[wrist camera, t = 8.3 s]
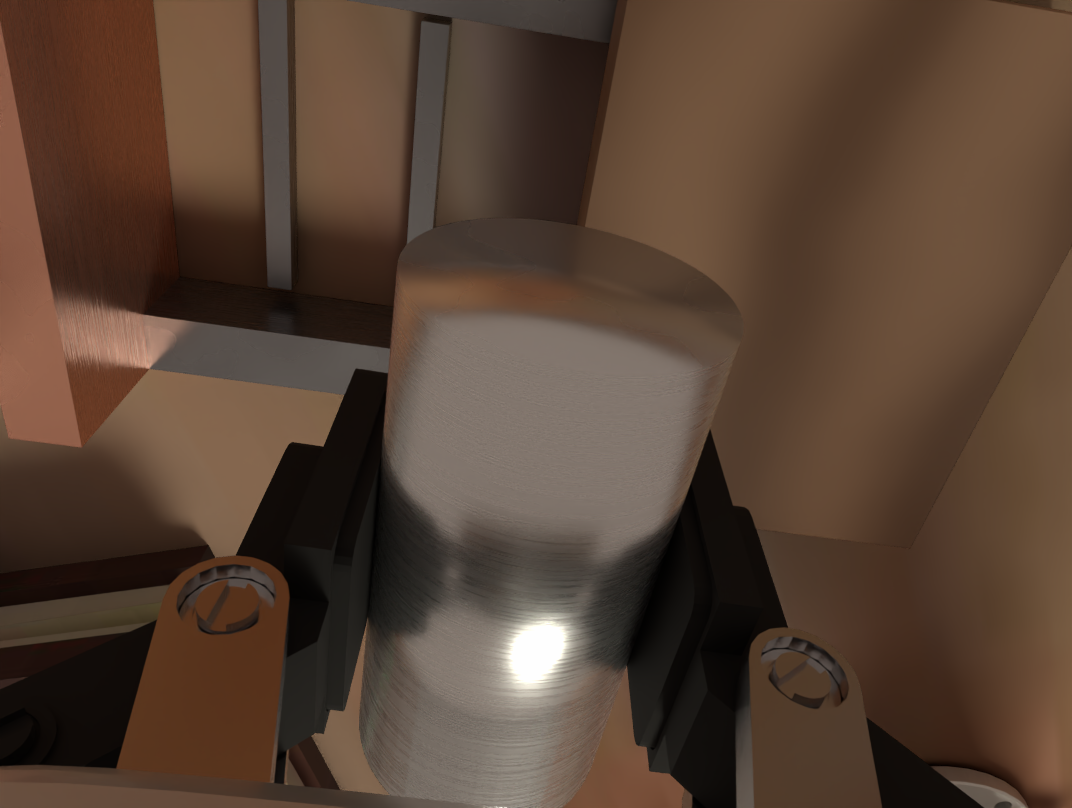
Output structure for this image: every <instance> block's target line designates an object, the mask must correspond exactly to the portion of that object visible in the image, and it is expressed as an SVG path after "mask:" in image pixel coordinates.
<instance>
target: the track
mask: <svg viewBox="0 0 1072 808" xmlns="http://www.w3.org/2000/svg"><path fill="white" fill-rule="evenodd" d="M348 1H355V2H361V3H367V4H373V5H379V6H385V7H391V8H397V9H403V10H409V11H415V12H421V13H427V14H433V15H440V16H446V17H452V18H458V19H464V20H470V21H476V22H482V23H488V24H494V25H500V26H506V27H512V28H518V29H525V30H531V31H537V32H543V33H549V34H555V35H561V36H567V37H573V38H579V39H585V40H591V41H597V42H603V43H610V39H611V34H612V28H613V23H614V17H615V12H616V6H617V1H618V0H348ZM258 14H259V43H260V72H261V102H262V131H263V161H264V190H265V219H266V249H267V278H268V287H273V288H280V289H287V290H292V289H293V287H294V286H295V284H296V283H297V281H298V254H297V172H296V90H295V8H294V0H258ZM451 32H452V22H450V21H444V20H438V19H432V18H426V17H425V18H424V19H423V20H422V21H421V35H420V50H419V66H418V81H417V96H416V112H415V127H414V143H413V158H412V173H411V189H410V204H409V220H408V235H407V244H408V243H409V242H410V241H412V240H413V239H414V238H415V237H417V236H419V235H421V234H422V233H424V232H426V231H429V230H431V229H434V228H435V223H436V211H437V200H438V188H439V176H440V164H441V152H442V140H443V128H444V116H445V104H446V92H447V80H448V68H449V56H450V44H451ZM393 309H394V307H389V306H382V305H375V304H368V303H361V302H354V301H347V300H339V299H332V298H325V297H318V296H311V295H304V294H297V293H290V292H283V291H276V290H269V289H261V288H254V287H247V286H240V285H233V284H226V283H219V282H212V281H205V280H198V279H191V278H183V277H180V275H179V264H178V254H177V244H176V233H175V223H174V213H173V203H172V192H171V182H170V172H169V161H168V151H167V141H166V131H165V120H164V110H163V100H162V89H161V79H160V69H159V59H158V48H157V38H156V28H155V18H154V7H153V0H0V404H1V408H2V412H3V416H4V420H5V424H6V428H7V432H8V436H9V438H11V439H19V440H27V441H34V442H42V443H50V444H58V445H66V446H74V447H83V445H84V444H85V443H86V442H87V441H88V440H89V438H90V437H91V436H92V435H93V434H94V433H95V432H96V430H97V429H98V428H99V427H100V426H101V425H102V423H103V422H104V421H105V420H106V419H107V418H108V416H109V415H110V414H111V413H112V412H113V411H114V409H115V408H116V407H117V406H118V405H119V404H120V402H121V401H122V400H123V399H124V398H125V397H126V395H127V394H128V393H129V392H130V391H131V390H132V388H133V387H134V386H135V385H136V384H137V383H138V381H139V380H140V379H141V378H142V377H143V376H144V374H145V373H146V372H147V371H148V370H149V369H155V370H163V371H170V372H178V373H185V374H193V375H200V376H208V377H215V378H223V379H230V380H238V381H245V382H253V383H260V384H268V385H275V386H283V387H290V388H298V389H305V390H313V391H320V392H328V393H335V394H343V395H345V393H346V390H347V388H348V385H349V383H350V380H351V378H352V375H353V373H354V371H355V369H357V368H358V369H365V370H371V371H378V372H384V373H388V368H389V356H390V345H391V333H392V321H393Z"/></svg>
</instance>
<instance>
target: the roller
mask: <svg viewBox="0 0 1072 808" xmlns="http://www.w3.org/2000/svg"><path fill="white" fill-rule="evenodd" d="M743 328H744V323H743V319H742V316H741V313H740V311H739V309H738V307H737V305H736V304H735V302H734V301H733V300H732V299H731V297H730V296H729V295H728V294H727V293H726V292H725V291H724V290H723V289H722V288H721V287H720V286H719V285H718V284H717V283H715V282H714V281H713V280H711V279H710V278H709V277H708V276H706V275H705V274H703V273H702V272H700V271H699V270H697V269H696V268H694V267H692V266H690V265H689V264H687V263H685V262H683V261H681V260H680V259H678V258H676V257H673V256H671V255H669V254H667V253H665V252H663V251H661V250H658V249H656V248H653V247H651V246H648V245H646V244H643V243H640V242H637V241H634V240H632V239H629V238H625V237H622V236H619V235H615V234H612V233H608V232H604V231H600V230H597V229H593V228H588V227H583V226H578V225H573V224H567V223H560V222H554V221H545V220H536V219H521V218H489V219H476V220H466V221H461V222H455V223H450V224H447V225H443V226H439V227H436V228H434V229H431V230H429V231H426V232H424V233H422V234H421V235H419V236H417V237H415V238H414V239H413V240H412V241H410V242H409V243H408V244H407V245H406V246H405V247H404V249H403V250H402V252H401V253H400V256H399V259H398V262H397V273H396V285H395V297H394V309H393V321H392V333H391V345H390V356H389V368H388V380H387V392H386V404H385V416H384V428H383V440H382V455H381V467H380V479H379V491H378V503H377V515H376V527H375V539H374V551H373V563H372V575H371V587H370V599H369V611H368V619H367V630H366V642H365V654H364V666H363V678H362V690H361V702H360V715H359V730H360V738H361V743H362V747H363V750H364V754H365V757H366V759H367V761H368V763H369V766H370V768H371V770H372V771H373V773H374V775H375V776H376V778H377V779H378V781H379V783H380V784H381V785H382V786H383V787H384V788H385V790H386V791H387V792H388V793H389V794H390V795H391V796H401V797H410V798H420V799H429V800H439V801H448V802H457V803H466V804H475V805H484V806H493V807H503V808H562V807H563V806H564V805H565V804H567V803H568V802H569V801H570V800H571V799H572V798H573V797H574V795H575V794H576V793H577V791H578V790H579V789H580V787H581V786H582V784H583V783H584V781H585V779H586V777H587V775H588V774H589V771H590V768H591V766H592V763H593V760H594V757H595V754H596V752H597V749H598V746H599V743H600V740H601V737H602V734H603V732H604V729H605V726H606V723H607V720H608V717H609V714H610V712H611V709H612V706H613V703H614V700H615V697H616V695H617V692H618V689H619V686H620V683H621V680H622V677H623V675H624V672H625V669H626V666H627V663H628V660H629V657H630V655H631V652H632V649H633V646H634V643H635V640H636V637H637V635H638V632H639V629H640V626H641V623H642V620H643V618H644V615H645V612H646V609H647V606H648V603H649V600H650V598H651V595H652V592H653V589H654V586H655V583H656V581H657V578H658V575H659V572H660V569H661V566H662V563H663V561H664V558H665V555H666V552H667V549H668V546H669V543H670V541H671V538H672V535H673V532H674V529H675V526H676V524H677V521H678V518H679V515H680V512H681V509H682V507H683V504H684V501H685V498H686V495H687V492H688V489H689V487H690V484H691V481H692V478H693V475H694V472H695V470H696V467H697V464H698V461H699V458H700V455H701V452H702V450H703V447H704V444H705V441H706V438H707V435H708V433H709V430H710V427H711V424H712V421H713V418H714V415H715V413H716V410H717V407H718V404H719V401H720V398H721V396H722V393H723V390H724V387H725V384H726V381H727V378H728V376H729V373H730V370H731V367H732V364H733V361H734V358H735V356H736V353H737V350H738V347H739V344H740V341H741V339H742V336H743Z"/></svg>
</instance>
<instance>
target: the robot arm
mask: <svg viewBox="0 0 1072 808" xmlns="http://www.w3.org/2000/svg"><path fill="white" fill-rule="evenodd" d="M387 380H388V373H384V372H378V371H371V370H365V369H358V368H357V369H355V371H354V373H353V375H352V378H351V380H350V383H349V385H348V388H347V390H346V393H345V395H344V398H343V400H342V403H341V405H340V407H339V410H338V412H337V415H336V417H335V420H334V422H333V425H332V427H331V430H330V432H329V435H328V437H327V439H326V442H325V444H324V447H322V446H315V445H308V444H301V443H294V442H292V443H290V444H289V445H288V447H287V448H286V450H285V452H284V454H283V456H282V459H281V461H280V463H279V465H278V467H277V469H276V471H275V473H274V475H273V478H272V480H271V482H270V484H269V486H268V488H267V490H266V492H265V495H264V497H263V499H262V501H261V503H260V505H259V507H258V509H257V511H256V514H255V516H254V518H253V520H252V522H251V524H250V526H249V528H248V531H247V533H246V535H245V537H244V539H243V541H242V543H241V545H240V547H239V550H238V552H237V554H236V556H226V557H216V558H213V559H210V560H207V561H204V562H201V563H198V564H196V565H194V566H193V567H191V568H189V569H187V570H186V571H184V572H182V573H181V574H180V575H179V576H178V577H177V578H176V579H175V580H174V581H173V582H172V583H171V584H170V586H169V588H168V590H167V592H166V594H165V596H164V598H163V600H162V604H161V608H160V611H159V615H158V619H157V620H155V621H153V622H150V623H148V624H146V625H144V626H141V627H139V628H137V629H135V630H132V631H130V632H128V633H126V634H123V635H121V636H119V637H117V638H114V639H112V640H110V641H108V642H105V643H103V644H101V645H99V646H96V647H94V648H92V649H90V650H87V651H85V652H83V653H81V654H78V655H76V656H74V657H72V658H69V659H67V660H65V661H63V662H60V663H58V664H56V665H54V666H51V667H49V668H47V669H45V670H42V671H40V672H38V673H36V674H33V675H31V676H29V677H27V678H24V679H22V680H20V681H18V682H15V683H13V684H11V685H9V686H6V687H4V688H2V689H0V808H503V807H493V806H484V805H475V804H466V803H457V802H448V801H439V800H429V799H420V798H410V797H401V796H391V795H382V794H372V793H363V792H353V791H344V790H334V789H324V788H315V787H305V786H296V785H286V780H287V768H288V757H289V749H290V748H292V747H293V746H295V745H297V744H298V743H300V742H302V741H303V740H305V739H306V738H308V737H310V736H311V735H313V734H314V733H322V734H324V731H325V727H326V723H327V720H328V716H329V712H330V710H338V711H344V709H345V706H346V703H347V699H348V695H349V691H350V687H351V683H352V679H353V675H354V671H355V667H356V663H357V659H358V655H359V651H360V647H361V643H362V639H363V635H364V631H365V627H366V623H367V619H368V611H369V599H370V587H371V575H372V563H373V551H374V539H375V527H376V515H377V503H378V491H379V479H380V467H381V455H382V440H383V428H384V416H385V404H386V392H387ZM627 669H628V679H629V689H630V699H631V709H632V719H633V729H634V738H635V742H636V744H637V745H638V746H644V747H647V753H648V762H649V771H651V772H660V773H669V774H670V775H671V776H672V777H673V778H674V779H676V780H677V781H678V782H679V783H680V784H681V785H682V786H683V787H684V788H685V789H684V793H683V797H682V808H1028V806H1027V804H1026V801H1025V800H1024V799H1023V797H1022V796H1021V795H1020V793H1019V792H1018V791H1017V790H1016V789H1015V788H1013V787H1012V786H1011V785H1009V784H1008V783H1006V782H1005V781H1003V780H1001V779H999V778H996V777H994V776H992V775H989V774H987V773H983V772H979V771H975V770H971V769H967V768H959V767H950V766H929V765H928V764H927V763H925V762H924V761H923V760H922V759H920V758H919V757H918V756H916V755H915V754H914V753H912V752H911V751H910V750H908V749H907V748H906V747H905V746H903V745H902V744H901V743H899V742H898V741H897V740H895V739H894V738H893V737H892V736H890V735H889V734H888V733H886V732H885V731H884V730H882V729H881V728H880V727H879V726H877V725H876V724H875V723H873V722H872V721H871V720H869V719H868V718H867V717H866V714H865V709H864V703H863V698H862V692H861V687H860V684H859V681H858V678H857V676H856V673H855V671H854V670H853V668H852V667H851V665H850V664H849V663H848V661H847V660H846V658H845V657H844V656H842V655H841V654H840V653H839V652H838V651H837V650H836V649H835V648H834V647H833V646H831V645H830V644H828V643H827V642H825V641H823V640H822V639H820V638H819V637H817V636H815V635H812V634H809V633H807V632H804V631H802V630H798V629H791V628H788V626H787V623H786V620H785V617H784V614H783V611H782V608H781V605H780V602H779V598H778V595H777V592H776V589H775V586H774V583H773V580H772V577H771V574H770V571H769V567H768V564H767V561H766V558H765V555H764V552H763V549H762V546H761V543H760V540H759V537H758V533H757V530H756V527H755V524H754V521H753V518H752V516H751V514H750V511H749V510H748V509H747V508H745V507H740V506H733V504H732V500H731V497H730V494H729V490H728V487H727V484H726V480H725V477H724V473H723V470H722V467H721V463H720V460H719V457H718V453H717V450H716V447H715V443H714V440H713V437H712V433H711V430H709V433H708V435H707V438H706V441H705V444H704V447H703V450H702V452H701V455H700V458H699V461H698V464H697V467H696V470H695V472H694V475H693V478H692V481H691V484H690V487H689V489H688V492H687V495H686V498H685V501H684V504H683V507H682V509H681V512H680V515H679V518H678V521H677V524H676V526H675V529H674V532H673V535H672V538H671V541H670V543H669V546H668V549H667V552H666V555H665V558H664V561H663V563H662V566H661V569H660V572H659V575H658V578H657V581H656V583H655V586H654V589H653V592H652V595H651V598H650V600H649V603H648V606H647V609H646V612H645V615H644V618H643V620H642V623H641V626H640V629H639V632H638V635H637V637H636V640H635V643H634V646H633V649H632V652H631V655H630V657H629V660H628V663H627Z"/></svg>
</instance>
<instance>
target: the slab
mask: <svg viewBox="0 0 1072 808" xmlns="http://www.w3.org/2000/svg"><path fill="white" fill-rule="evenodd" d="M577 225H578V226H583V227H588V228H593V229H597V230H600V231H604V232H608V233H612V234H615V235H619V236H622V237H625V238H629V239H632V240H634V241H637V242H640V243H643V244H646V245H648V246H651V247H653V248H656V249H658V250H661V251H663V252H665V253H667V254H669V255H671V256H673V257H676V258H678V259H680V260H681V261H683V262H685V263H687V264H689V265H690V266H692V267H694V268H696V269H697V270H699V271H700V272H702V273H703V274H705V275H706V276H708V277H709V278H710V279H711V280H713V281H714V282H715V283H717V284H718V285H719V286H720V287H721V288H722V289H723V290H724V291H725V292H726V293H727V294H728V295H729V296H730V297H731V299H732V300H733V301H734V302H735V304H736V305H737V307H738V309H739V311H740V313H741V316H742V319H743V323H744V328H743V336H742V339H741V341H740V344H739V347H738V350H737V353H736V356H735V358H734V361H733V364H732V367H731V370H730V373H729V376H728V378H727V381H726V384H725V387H724V390H723V393H722V396H721V398H720V401H719V404H718V407H717V410H716V413H715V415H714V418H713V421H712V424H711V427H710V430H711V433H712V437H713V440H714V443H715V447H716V450H717V453H718V457H719V460H720V463H721V467H722V470H723V473H724V477H725V480H726V484H727V487H728V490H729V494H730V497H731V500H732V504H733V506H740V507H745V508H747V509H748V510H749V511H750V514H751V516H752V518H753V521H754V524H755V527H756V529H760V530H768V531H775V532H783V533H791V534H799V535H807V536H815V537H823V538H831V539H838V540H846V541H854V542H862V543H870V544H878V545H886V546H894V547H901V548H909V549H910V548H911V546H912V544H913V542H914V541H915V539H916V537H917V535H918V533H919V531H920V529H921V527H922V526H923V524H924V522H925V520H926V518H927V516H928V514H929V512H930V511H931V509H932V507H933V505H934V503H935V501H936V499H937V497H938V496H939V494H940V492H941V490H942V488H943V486H944V484H945V482H946V481H947V479H948V477H949V475H950V473H951V471H952V469H953V467H954V466H955V464H956V462H957V460H958V458H959V456H960V454H961V452H962V451H963V449H964V447H965V445H966V443H967V441H968V439H969V437H970V436H971V434H972V432H973V430H974V428H975V426H976V424H977V422H978V421H979V419H980V417H981V415H982V413H983V411H984V409H985V407H986V406H987V404H988V402H989V400H990V398H991V396H992V394H993V392H994V391H995V389H996V387H997V385H998V383H999V381H1000V379H1001V377H1002V376H1003V374H1004V372H1005V370H1006V368H1007V366H1008V364H1009V363H1010V361H1011V359H1012V357H1013V355H1014V353H1015V351H1016V349H1017V348H1018V346H1019V344H1020V342H1021V340H1022V338H1023V336H1024V334H1025V333H1026V331H1027V329H1028V327H1029V325H1030V323H1031V321H1032V319H1033V318H1034V316H1035V314H1036V312H1037V310H1038V308H1039V306H1040V304H1041V303H1042V301H1043V299H1044V297H1045V295H1046V293H1047V291H1048V289H1049V288H1050V286H1051V284H1052V282H1053V280H1054V278H1055V276H1056V274H1057V273H1058V271H1059V269H1060V267H1061V265H1062V263H1063V261H1064V259H1065V258H1066V256H1067V254H1068V252H1069V250H1070V248H1071V246H1072V12H1068V11H1062V10H1056V9H1051V8H1045V7H1039V6H1033V5H1028V4H1022V3H1016V2H1010V1H1004V0H618V1H617V6H616V12H615V17H614V23H613V28H612V34H611V39H610V45H609V50H608V56H607V61H606V67H605V72H604V78H603V83H602V89H601V94H600V100H599V105H598V111H597V116H596V122H595V127H594V133H593V138H592V144H591V149H590V155H589V160H588V166H587V171H586V177H585V182H584V188H583V193H582V199H581V204H580V210H579V215H578V221H577Z"/></svg>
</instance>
